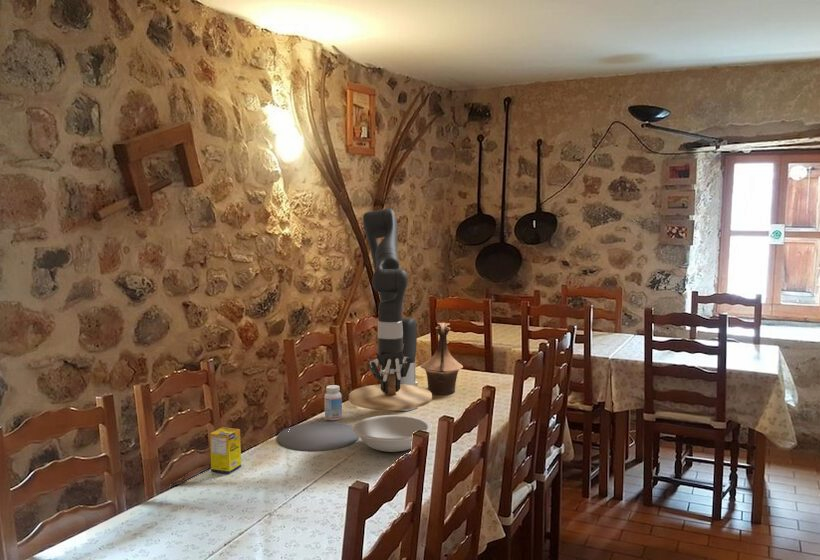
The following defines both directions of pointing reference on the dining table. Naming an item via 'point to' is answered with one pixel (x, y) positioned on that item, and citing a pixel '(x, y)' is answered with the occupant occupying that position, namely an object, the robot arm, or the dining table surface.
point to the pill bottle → (333, 403)
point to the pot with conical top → (442, 366)
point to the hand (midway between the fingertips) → (390, 391)
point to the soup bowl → (390, 431)
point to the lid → (390, 396)
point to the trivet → (317, 436)
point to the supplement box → (225, 450)
